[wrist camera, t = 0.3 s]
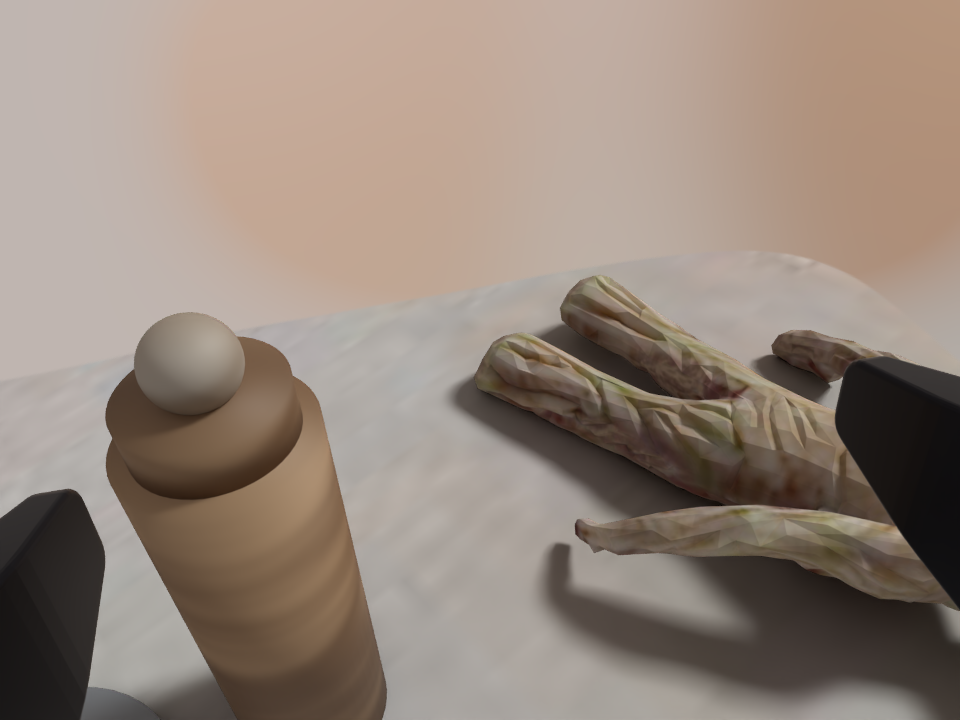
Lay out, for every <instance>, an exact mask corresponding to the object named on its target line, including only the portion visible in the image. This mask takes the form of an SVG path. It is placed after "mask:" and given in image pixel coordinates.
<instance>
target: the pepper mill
mask: <svg viewBox="0 0 960 720" xmlns="http://www.w3.org/2000/svg"><path fill="white" fill-rule="evenodd" d="M105 419H106V425H107V428H108V430H109V432H110V434H111V436H112V438H113V439H112V441H111V443H110V446H109V448H108V452H107V457H106V471H107V477H108V479H109V482H110V484H111V486H112V488H113V490H114V492H115V494H116V496H117V497H118V499H119V501H120V503H121V505H122V507H123V509H124V510H125V512H126V514H127V516H128V518H129V520H130V522H131V523H132V525H133V527H134V529H135V531H136V533H137V534H138V536H139V538H140V540H141V542H142V544H143V546H144V547H145V549H146V551H147V553H148V555H149V557H150V559H151V560H152V562H153V564H154V566H155V568H156V570H157V571H158V573H159V575H160V577H161V579H162V581H163V583H164V584H165V586H166V588H167V590H168V592H169V594H170V596H171V597H172V599H173V601H174V603H175V605H176V607H177V608H178V610H179V612H180V614H181V616H182V618H183V620H184V621H185V623H186V625H187V627H188V629H189V631H190V633H191V634H192V636H193V638H194V640H195V642H196V644H197V645H198V647H199V649H200V651H201V653H202V655H203V657H204V658H205V660H206V662H207V664H208V666H209V668H210V670H211V671H212V673H213V675H214V677H215V679H216V681H217V682H218V684H219V686H220V688H221V690H222V692H223V694H224V695H225V697H226V699H227V701H228V703H229V705H230V707H231V708H232V710H233V712H234V714H235V716H236V718H237V719H238V720H382V718H383V714H384V711H385V706H386V699H387V688H386V681H385V677H384V672H383V668H382V664H381V660H380V656H379V651H378V647H377V643H376V639H375V635H374V630H373V626H372V622H371V618H370V614H369V609H368V605H367V601H366V597H365V592H364V588H363V584H362V580H361V576H360V571H359V567H358V563H357V559H356V555H355V550H354V546H353V542H352V538H351V534H350V529H349V525H348V521H347V517H346V513H345V508H344V504H343V500H342V496H341V492H340V487H339V483H338V479H337V475H336V471H335V466H334V462H333V458H332V454H331V449H330V445H329V441H328V437H327V433H326V428H325V424H324V420H323V416H322V412H321V408H320V404H319V401H318V400H317V398H316V396H315V394H314V393H313V392H312V390H311V389H310V388H309V387H308V386H307V385H306V384H305V383H303V382H302V381H301V380H299V379H297V378H296V377H294V376H293V375H292V372H291V368H290V365H289V363H288V361H287V359H286V358H285V356H284V355H283V354H282V353H281V352H280V351H279V350H277V349H276V348H275V347H273V346H271V345H270V344H267V343H265V342H262V341H259V340H256V339H252V338H246V337H237V336H236V335H235V334H234V333H233V331H232V330H231V329H230V328H229V327H227V326H226V325H225V324H224V323H222V322H221V321H219V320H217V319H216V318H213V317H211V316H208V315H205V314H200V313H193V312H191V313H190V312H188V313H179V314H174V315H171V316H168V317H166V318H164V319H162V320H160V321H158V322H157V323H155V324H154V325H153V326H152V327H150V329H149V330H147V332H146V333H145V334H144V336H143V337H142V338H141V340H140V342H139V344H138V346H137V349H136V353H135V357H134V370H132V371H131V372H130V373H129V374H128V375H127V376H126V377H125V378H124V379H123V380H122V381H121V382H120V383H119V384H118V386H117V387H116V388H115V390H114V391H113V393H112V395H111V397H110V399H109V401H108V404H107V408H106V416H105Z"/></svg>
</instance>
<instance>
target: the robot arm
mask: <svg viewBox="0 0 960 720" xmlns="http://www.w3.org/2000/svg"><path fill="white" fill-rule="evenodd" d="M835 426H836V430H837V433H838V435H839V437H840V439H841V440H842V442H843V444H844V445H845V447H846V448H847V450H848V452H849V453H850V455H851V456H852V458H853V459H854V461H855V463H856V464H857V466H858V467H859V469H860V471H861V472H862V474H863V475H864V477H865V479H866V480H867V482H868V483H869V485H870V486H871V488H872V490H873V491H874V493H875V494H876V496H877V498H878V499H879V501H880V502H881V504H882V506H883V507H884V509H885V510H886V512H887V513H888V515H889V517H890V518H891V520H892V521H893V523H894V524H895V526H896V527H897V529H898V530H899V532H900V533H901V535H902V536H903V537H904V539H905V540H906V541H907V543H908V544H909V546H910V547H911V548H912V550H913V551H914V552H915V554H916V555H917V556H918V557H919V559H920V560H921V561H922V563H923V564H924V565H925V566H926V568H927V569H928V570H929V572H930V573H931V574H932V575H933V577H934V578H935V579H936V581H937V582H938V583H939V584H940V586H941V587H942V588H943V590H944V591H945V592H946V593H947V595H948V596H949V597H950V599H951V600H952V601H953V602H954V604H955V605H956V606H957V608H958V609H959V610H960V377H959V376H956V375H952V374H948V373H945V372H941V371H938V370H934V369H931V368H927V367H923V366H920V365H916V364H913V363H909V362H906V361H902V360H898V359H895V358H891V357H887V356H877V357H871V358H865V359H859V360H854V361H853V362H851V363H850V364H849V365H848V366H847V367H846V369H845V372H844V376H843V380H842V385H841V389H840V394H839V398H838V403H837V407H836V412H835ZM104 570H105V552H104V547H103V544H102V541H101V539H100V537H99V535H98V532H97V530H96V528H95V526H94V523H93V521H92V519H91V517H90V514H89V512H88V510H87V508H86V506H85V503H84V501H83V499H82V497H81V496H80V495H79V494H78V493H77V492H76V491H74V490H72V489H63V490H57V491H51V492H45V493H39V494H34V495H32V496H30V497H28V498H27V499H25V500H24V501H23V502H22V503H20V504H19V505H18V506H16V507H15V508H14V509H12V510H11V511H10V512H8V513H7V514H6V515H4V516H3V517H2V518H0V720H81V716H82V711H83V707H84V703H85V699H86V693H87V688H88V682H89V676H90V669H91V662H92V655H93V648H94V641H95V634H96V627H97V620H98V613H99V606H100V599H101V592H102V585H103V578H104Z"/></svg>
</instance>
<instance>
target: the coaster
mask: <svg viewBox="0 0 960 720" xmlns="http://www.w3.org/2000/svg"><path fill="white" fill-rule="evenodd" d="M81 720H161V719H160V718H159V717H158V716H157V715H156V713H154V712H153V711H152V710H151V709H150V708H148V707H147V706H146V705H145V704H143V703H142V702H140V701H138V700H136V699H134V698H133V697H131V696H129V695H126V694H123V693H120V692H117V691H114V690H109V689H103V688H97V687H88V688H87V693H86V699H85V703H84V707H83V711H82V716H81Z"/></svg>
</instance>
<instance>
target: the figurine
mask: <svg viewBox="0 0 960 720" xmlns="http://www.w3.org/2000/svg"><path fill="white" fill-rule="evenodd" d="M560 311H561V318H562V321H564V322H565V323H566V324H567V325H569V326H570V327H571V328H572V329H574V330H575V331H576V332H577V333H579V334H580V335H582V336H583V337H585V338H587V339H589V340H591V341H592V342H594V343H596V344H598V345H600V346H601V347H603V348H605V349H607V350H609V351H611V352H613V353H616V354H619V355H621V356H623V357H624V358H625V359H627V360H628V361H629V362H630V363H632V364H633V365H634V366H635V367H636V368H638V369H640V370H643V371H646V372H648V373H649V374H650V375H651V377H652V378H653V380H654V381H655V382H656V383H657V384H658V386H660V387H661V388H662V389H664V390H665V391H666V392H668V393H669V394H670V395H672V396H673V397H674V398H673V397H667V396H661V395H656V394H650V393H647V392H645V391H643V390H641V389H638V388H636V387H634V386H632V385H629V384H627V383H625V382H623V381H621V380H618V379H616V378H614V377H612V376H609V375H607V374H605V373H603V372H601V371H598V370H596V369H595V368H593V367H591V366H589V365H587V364H586V363H584V362H582V361H580V360H578V359H577V358H575V357H573V356H571V355H569V354H568V353H566V352H564V351H562V350H560V349H558V348H556V347H554V346H552V345H550V344H548V343H547V342H545V341H543V340H541V339H539V338H537V337H535V336H533V335H531V334H526V333H516V334H511V335H506V336H503V337H501V338H500V339H498V340H496V341H494V342H493V343H492V345H491V347H490V348H489V350H488V351H487V353H486V354H485V356H484V358H483V359H482V362H481V364H480V366H479V368H478V370H477V372H476V374H475V377H474V379H475V382H476V385H477V388H478V389H480V390H482V391H484V392H487V393H489V394H491V395H493V396H495V397H498V398H500V399H502V400H504V401H506V402H508V403H511V404H513V405H515V406H517V407H519V408H521V409H523V410H527V411H532V412H534V413H535V414H537V415H538V416H540V417H542V418H543V419H545V420H547V421H549V422H551V423H553V424H555V425H556V426H558V427H560V428H562V429H565V430H568V431H570V432H573V433H574V434H576V435H578V436H579V437H581V438H583V439H585V440H587V441H589V442H591V443H594V444H596V445H598V446H600V447H602V448H605V449H607V450H609V451H612V452H614V453H617V454H619V455H622V456H624V457H626V458H628V459H629V460H631V461H633V462H635V463H637V464H638V465H640V466H642V467H644V468H646V469H647V470H649V471H651V472H653V473H654V474H656V475H658V476H660V477H661V478H663V479H665V480H667V481H668V482H670V483H672V484H674V485H675V486H677V487H679V488H683V489H685V490H687V491H689V492H691V493H693V494H695V495H698V496H701V497H703V498H706V499H709V500H716V501H718V502H720V503H722V504H724V505H726V506H709V507H695V508H687V509H679V510H672V511H664V512H659V513H654V514H650V515H645V516H640V517H635V518H630V519H626V520H621V521H616V522H611V523H606V524H598V523H596V522H594V521H592V520H591V519H589V518H587V519H578V520H577V521H576V523H575V534H576V535H577V536H578V537H579V538H580V539H581V540H582V541H584V542H586V543H587V544H589V545H590V547H591V549H592V550H593V552H594V553H596V552H599V551H601V550H604V549H605V550H607V551H610V552H612V553H615V554H617V555H630V554H648V553H668V554H676V555H683V556H692V557H709V556H766V557H773V558H780V559H787V560H794V561H795V562H797V563H798V564H799V565H800V566H802V567H803V568H804V569H806V570H808V571H811V572H814V573H816V574H819V575H824V576H830V577H836V578H838V579H840V580H841V581H843V582H845V583H846V584H848V585H850V586H852V587H854V588H856V589H858V590H860V591H862V592H864V593H867V594H869V595H871V596H874V597H876V598H878V599H898V600H901V601H905V602H909V603H911V602H913V601H916V602H920V603H938V604H941V603H942V604H944V605H945V606H947V607H950V608H952V609H955V610H957V611H960V610H959V609H958V608H957V606H956V605H955V604H954V602H953V601H952V600H951V599H950V597H949V596H948V595H947V593H946V592H945V591H944V590H943V588H942V587H941V586H940V584H939V583H938V582H937V581H936V579H935V578H934V577H933V575H932V574H931V573H930V572H929V570H928V569H927V568H926V566H925V565H924V564H923V563H922V561H921V560H920V559H919V557H918V556H917V555H916V554H915V552H914V551H913V550H912V548H911V547H910V546H909V544H908V543H907V541H906V540H905V539H904V537H903V536H902V535H901V533H900V532H899V530H898V529H897V527H896V526H895V524H894V523H893V521H892V520H891V518H890V517H889V515H888V513H887V512H886V510H885V509H884V507H883V506H882V504H881V502H880V501H879V499H878V498H877V496H876V494H875V493H874V491H873V490H872V488H871V486H870V485H869V483H868V482H867V480H866V479H865V477H864V475H863V474H862V472H861V471H860V469H859V467H858V466H857V464H856V463H855V461H854V459H853V458H852V456H851V455H850V453H849V452H848V450H847V448H846V447H845V445H844V444H843V442H842V440H841V439H840V437H839V435H838V433H837V430H836V426H835V412H836V410H833V409H830V408H827V407H824V406H822V405H820V404H817V403H815V402H813V401H811V400H808V399H806V398H804V397H801V396H799V395H797V394H795V393H793V392H791V391H789V390H787V389H785V388H783V387H781V386H779V385H777V384H775V383H772V382H770V381H768V380H766V379H764V378H763V377H761V376H760V375H758V374H757V373H755V372H753V371H752V370H750V369H749V368H747V367H746V366H744V365H743V364H741V363H740V362H738V361H737V360H735V359H733V358H732V357H730V356H728V355H726V354H724V353H722V352H720V351H718V350H717V349H715V348H713V347H711V346H709V345H707V344H705V343H704V342H702V341H700V340H698V339H696V338H695V337H694V336H692V335H691V334H690V333H688V332H687V331H685V330H684V329H683V328H681V327H680V326H678V325H677V324H675V323H674V322H672V321H670V320H669V319H667V318H666V317H664V316H662V315H661V314H659V313H658V312H657V311H655V310H654V309H653V308H651V307H650V306H649V305H647V304H646V303H644V302H643V301H642V300H640V299H639V298H638V297H636V296H635V295H634V294H632V293H631V292H630V291H628V290H627V289H625V288H624V287H623V286H621V285H620V284H618V283H617V282H615V281H614V280H613V279H611V278H610V277H606V276H602V275H597V276H592V277H589V278H586V279H583V280H580V281H579V282H578V283H577V284H576V285H575V286H574V287H573V288H572V289H571V290H570V291H569V293H568V294H567V296H566V298H565V299H564V301H563V303H562V305H561V307H560ZM772 351H773V354H775V355H777V356H779V357H780V358H782V359H784V360H785V361H787V362H788V363H789V364H790V365H792V366H795V367H798V368H801V369H804V370H807V371H812V372H813V373H815V374H816V375H817V376H819V377H820V378H821V379H823V380H824V381H826V382H827V383H830V382H833V381H836V380H839V379H840V378H842V377H843V376H844V372H845V369H846V367H847V366H848V365H849V364H850V363H851V362H853V361H854V360H859V359H865V358H871V357H877V356H887V357H891V358H895V359H898V360H902V361H906V362H909V363H913V364H916V365H919V364H917V363H915V362H913V361H911V360H908V359H906V358H904V357H902V356H899V355H895V354H892V353H887V352H881V351H874V350H871V349H869V348H867V347H864V346H862V345H860V344H858V343H856V342H854V341H849V340H843V339H838V338H833V337H829V336H826V335H823V334H820V333H817V332H814V331H811V330H791V331H788V332H786V333H783V334H781V335H779V336H778V337H777V338H776V340H775V341H774V343H773V344H772Z"/></svg>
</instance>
